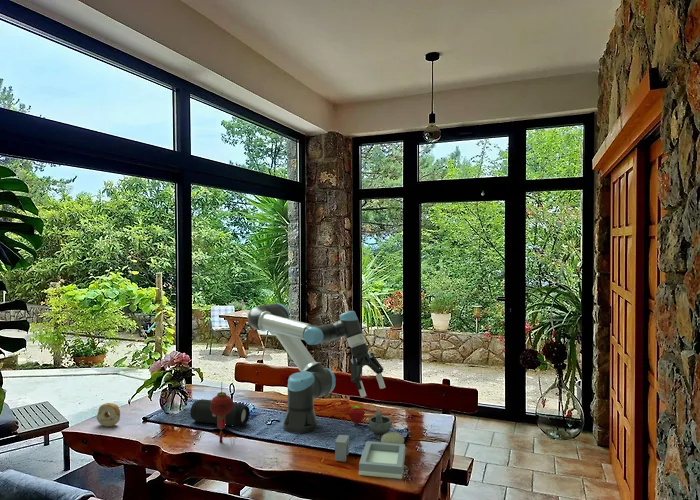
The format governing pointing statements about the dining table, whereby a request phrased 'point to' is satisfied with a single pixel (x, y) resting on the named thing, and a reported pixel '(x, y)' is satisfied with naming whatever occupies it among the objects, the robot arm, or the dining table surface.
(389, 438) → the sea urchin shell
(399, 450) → the grey rectangular tray
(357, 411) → the decorative fruit
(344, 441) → the grey upright block
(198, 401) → the portable speaker
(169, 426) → the dining table surface
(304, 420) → the robot arm
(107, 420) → the stone disc
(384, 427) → the mortar and pestle
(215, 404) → the lantern
